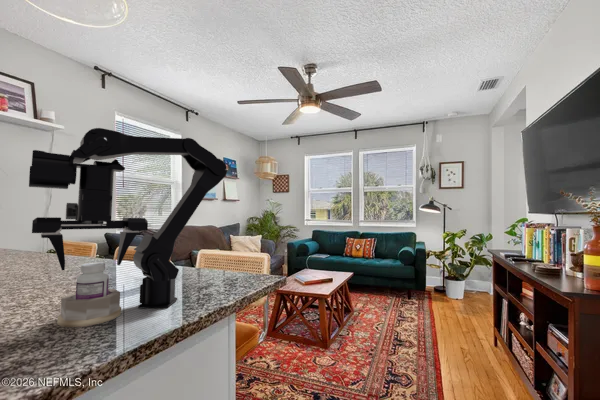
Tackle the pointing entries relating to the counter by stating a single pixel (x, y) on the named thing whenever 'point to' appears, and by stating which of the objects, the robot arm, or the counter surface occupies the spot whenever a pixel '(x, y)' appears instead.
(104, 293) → the pill bottle
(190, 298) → the counter surface
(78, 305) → the socket base
